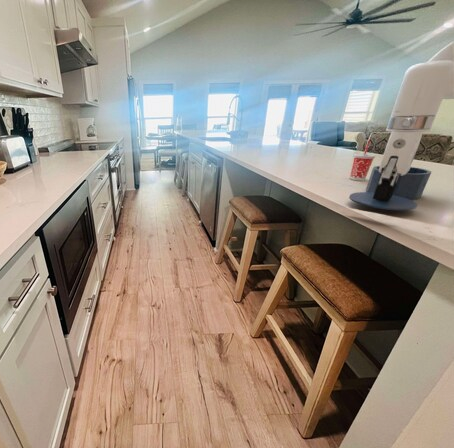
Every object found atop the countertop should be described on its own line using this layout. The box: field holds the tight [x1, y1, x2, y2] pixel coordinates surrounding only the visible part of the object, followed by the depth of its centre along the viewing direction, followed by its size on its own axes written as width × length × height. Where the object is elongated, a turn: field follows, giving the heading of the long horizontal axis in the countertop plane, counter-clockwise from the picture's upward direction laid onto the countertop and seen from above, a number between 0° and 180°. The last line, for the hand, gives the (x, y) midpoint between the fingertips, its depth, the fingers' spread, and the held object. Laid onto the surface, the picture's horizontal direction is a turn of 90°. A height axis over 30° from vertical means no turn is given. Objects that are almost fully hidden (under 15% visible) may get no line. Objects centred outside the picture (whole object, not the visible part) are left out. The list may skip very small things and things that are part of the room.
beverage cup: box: [349, 140, 376, 182], centre depth 89 cm, size 6×6×14 cm
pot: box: [365, 165, 432, 201], centre depth 74 cm, size 13×13×8 cm
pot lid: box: [348, 191, 418, 211], centre depth 63 cm, size 14×14×6 cm
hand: (382, 198), depth 64 cm, fingers closed on pot lid, 2 cm apart
